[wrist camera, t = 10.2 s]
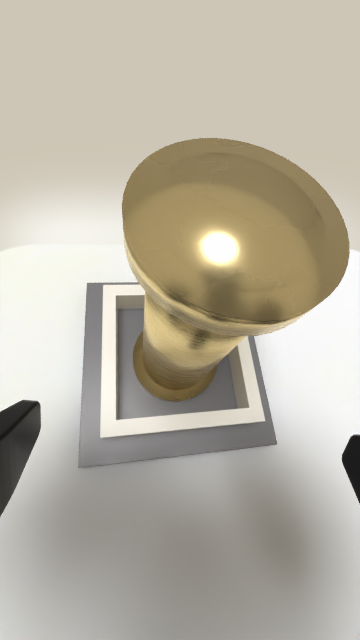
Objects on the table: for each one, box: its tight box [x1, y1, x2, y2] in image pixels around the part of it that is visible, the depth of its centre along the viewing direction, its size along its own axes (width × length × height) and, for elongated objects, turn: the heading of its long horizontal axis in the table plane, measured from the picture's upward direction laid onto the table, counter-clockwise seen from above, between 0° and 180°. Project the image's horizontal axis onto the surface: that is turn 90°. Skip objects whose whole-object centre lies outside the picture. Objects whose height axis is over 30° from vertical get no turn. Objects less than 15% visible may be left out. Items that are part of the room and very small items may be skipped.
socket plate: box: [78, 283, 277, 468], centre depth 18 cm, size 12×12×3 cm
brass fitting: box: [122, 138, 349, 402], centre depth 12 cm, size 6×6×13 cm
